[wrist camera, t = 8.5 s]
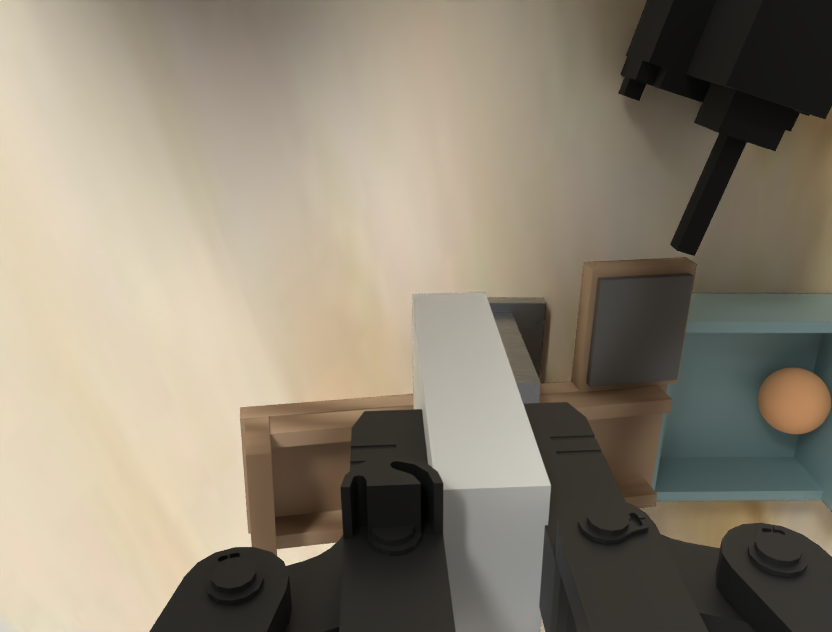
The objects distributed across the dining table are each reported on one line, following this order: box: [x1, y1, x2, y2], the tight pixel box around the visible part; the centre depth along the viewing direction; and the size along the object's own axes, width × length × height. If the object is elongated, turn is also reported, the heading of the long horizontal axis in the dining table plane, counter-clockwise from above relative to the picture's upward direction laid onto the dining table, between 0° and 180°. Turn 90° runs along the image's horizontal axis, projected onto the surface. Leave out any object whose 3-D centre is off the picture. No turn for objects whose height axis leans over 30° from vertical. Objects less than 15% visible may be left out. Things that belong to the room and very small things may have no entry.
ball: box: [758, 368, 831, 434], centre depth 43 cm, size 4×4×4 cm
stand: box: [487, 298, 546, 404], centre depth 40 cm, size 6×10×9 cm, turn 179°
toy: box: [619, 0, 832, 256], centre depth 34 cm, size 8×14×10 cm, turn 163°
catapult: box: [240, 257, 697, 556], centre depth 35 cm, size 20×12×4 cm, turn 90°
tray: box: [652, 293, 832, 512], centre depth 43 cm, size 11×11×6 cm
